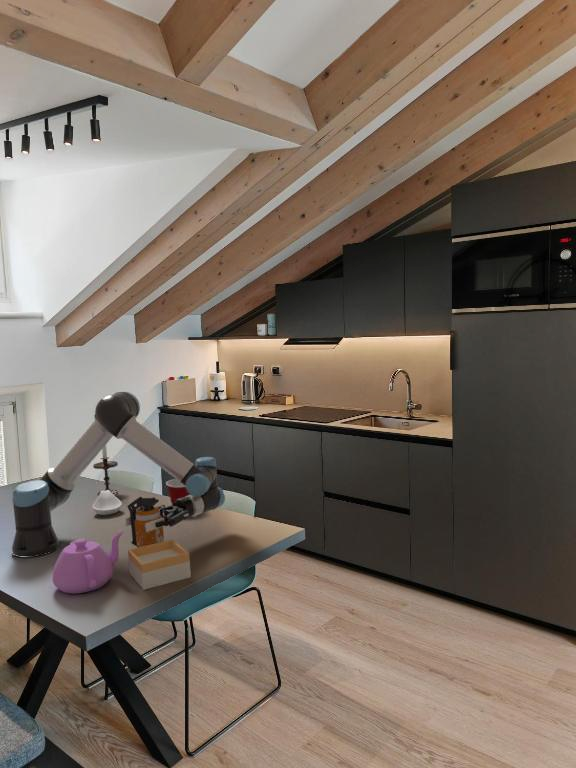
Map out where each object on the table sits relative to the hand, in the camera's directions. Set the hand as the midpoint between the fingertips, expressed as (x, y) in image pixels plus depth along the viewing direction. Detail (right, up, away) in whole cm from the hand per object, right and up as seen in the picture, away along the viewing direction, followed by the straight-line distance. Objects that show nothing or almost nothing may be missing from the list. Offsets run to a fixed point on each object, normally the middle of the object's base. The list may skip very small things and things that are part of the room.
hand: (135, 524), depth 196 cm
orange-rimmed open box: (+10, -13, -12) cm, 20 cm away
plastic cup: (+5, -7, +55) cm, 56 cm away
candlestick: (-35, -6, +85) cm, 92 cm away
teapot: (-10, -14, -15) cm, 23 cm away
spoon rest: (-28, -8, +61) cm, 67 cm away
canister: (+3, -12, +4) cm, 13 cm away
